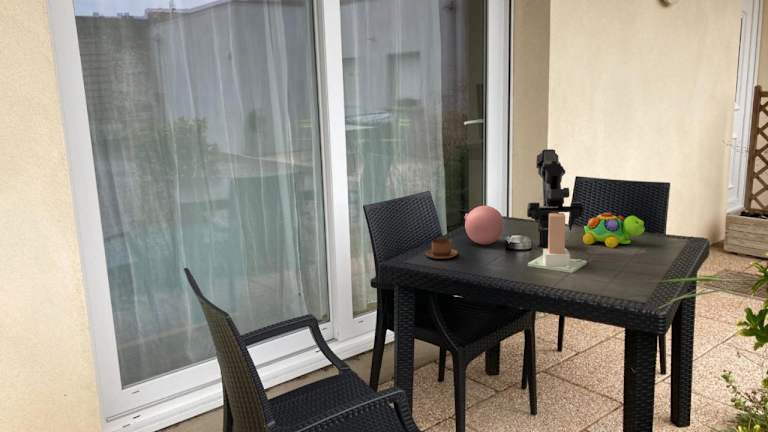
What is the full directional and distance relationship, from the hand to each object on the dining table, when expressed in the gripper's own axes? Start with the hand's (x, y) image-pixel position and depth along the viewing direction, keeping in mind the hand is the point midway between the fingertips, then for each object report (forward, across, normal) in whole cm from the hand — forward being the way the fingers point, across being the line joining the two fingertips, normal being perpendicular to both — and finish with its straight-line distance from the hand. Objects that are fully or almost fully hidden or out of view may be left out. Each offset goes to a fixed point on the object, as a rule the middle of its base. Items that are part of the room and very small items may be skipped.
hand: (556, 230), depth 217 cm
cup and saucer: (+1, -40, +18) cm, 44 cm away
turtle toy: (-13, +26, +32) cm, 43 cm away
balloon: (-14, -25, +32) cm, 43 cm away
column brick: (+5, 0, +5) cm, 8 cm away
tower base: (+8, 0, +10) cm, 13 cm away
